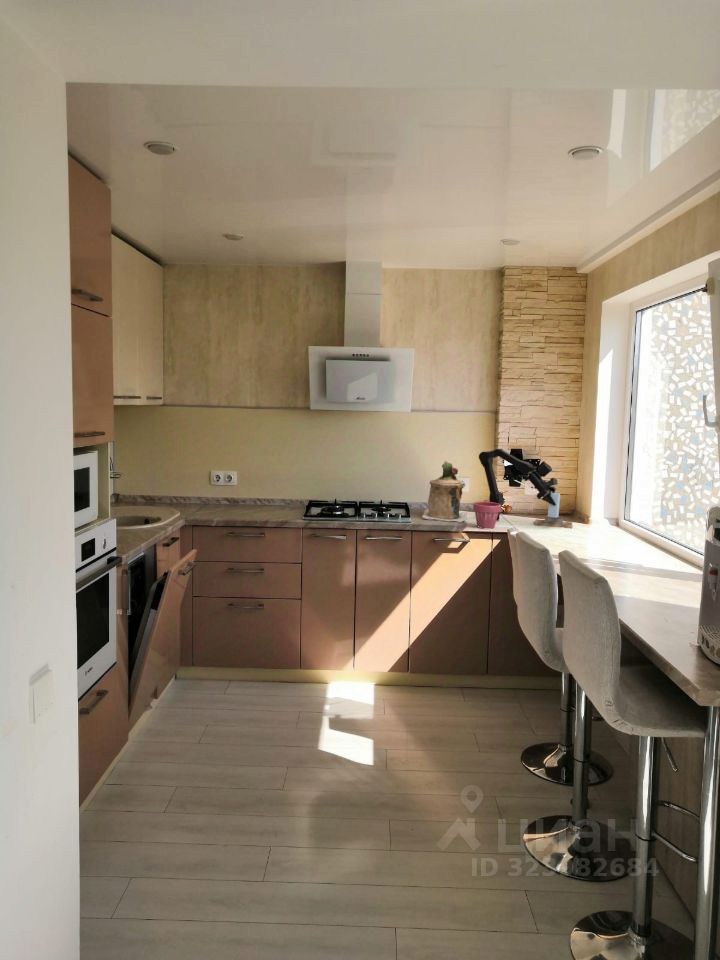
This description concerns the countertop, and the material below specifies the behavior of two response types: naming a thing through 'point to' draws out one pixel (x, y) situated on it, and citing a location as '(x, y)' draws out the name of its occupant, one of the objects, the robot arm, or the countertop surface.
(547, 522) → the jig cradle
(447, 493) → the cookie jar
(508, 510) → the toy helicopter
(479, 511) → the plant pot
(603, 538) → the countertop surface
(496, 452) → the robot arm
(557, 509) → the block
